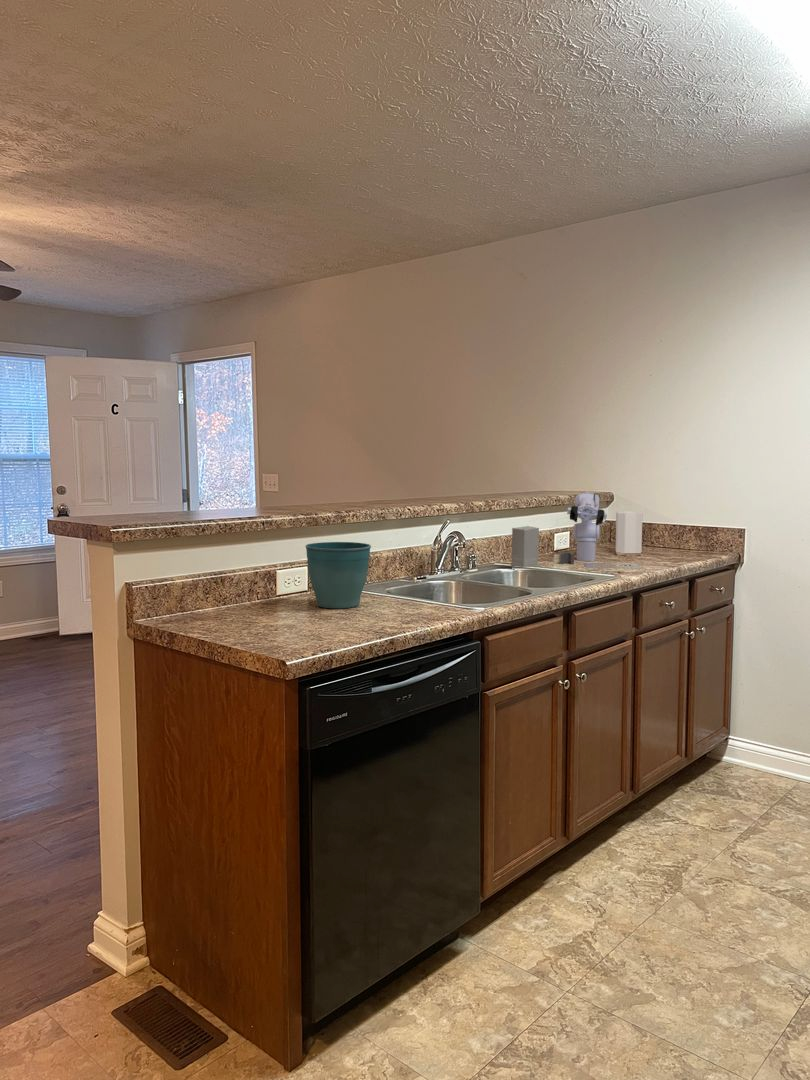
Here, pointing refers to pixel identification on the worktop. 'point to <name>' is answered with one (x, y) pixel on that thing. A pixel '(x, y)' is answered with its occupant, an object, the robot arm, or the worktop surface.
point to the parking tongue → (565, 563)
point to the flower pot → (338, 572)
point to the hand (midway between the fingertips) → (586, 521)
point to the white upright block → (629, 532)
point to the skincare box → (525, 546)
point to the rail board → (611, 565)
